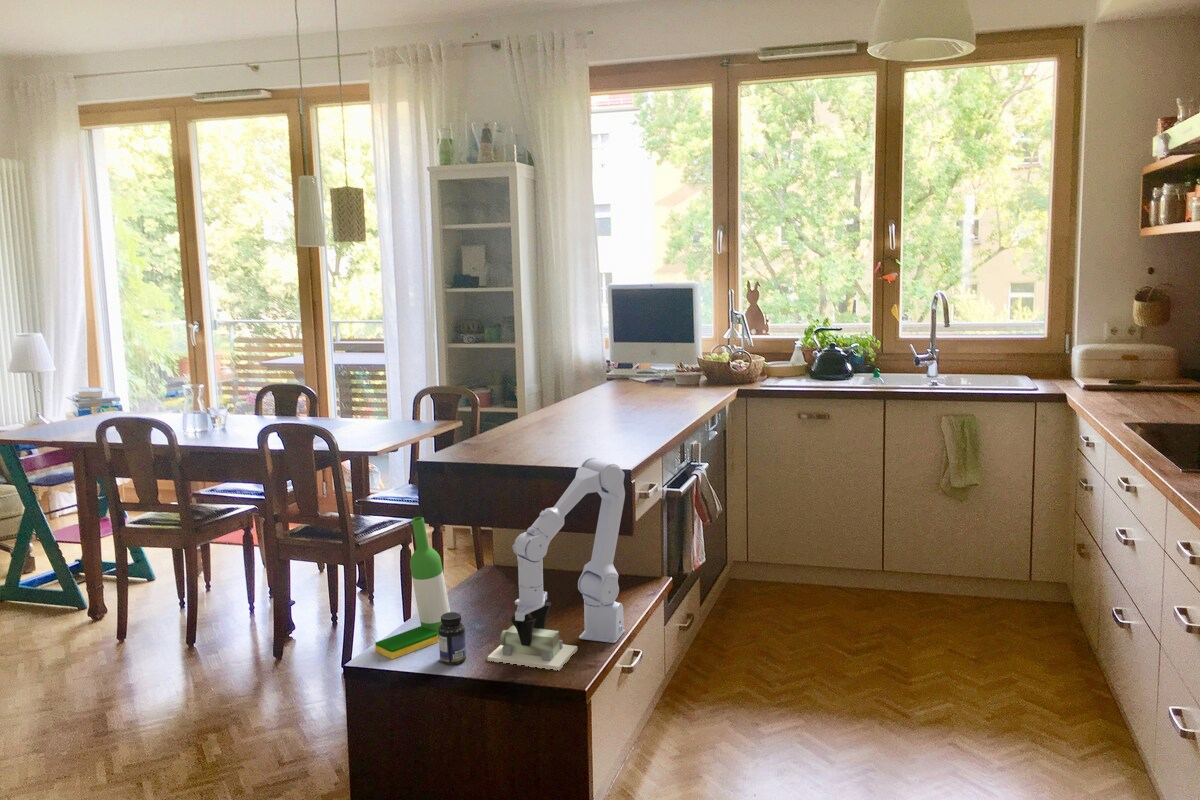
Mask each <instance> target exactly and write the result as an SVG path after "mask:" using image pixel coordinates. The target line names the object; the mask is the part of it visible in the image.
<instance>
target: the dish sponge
mask: <svg viewBox="0 0 1200 800" xmlns="http://www.w3.org/2000/svg"><path fill="white" fill-rule="evenodd" d="M436 643H439V634H438V633H437V632H435V631H432V630H430V629H427V628H424V627H422V626H421V625H420V626H417V627H414V628H412V629H409V630H406V631H404V632H401V633H398V634H395V635H393V636H390V637H388V638H384V639H381V640H378V641H376V642H374V644H375V653H377V654H380V655H382V656H385V657H387V658H388V659H390V660H394V659H396V658H399V657H402V656H405V655H407V654H410V653H412V652H415V651H418V650H421V649H423V648H426V647H428V646H431V645H434V644H436Z"/></svg>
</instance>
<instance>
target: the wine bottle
mask: <svg viewBox="0 0 1200 800" xmlns="http://www.w3.org/2000/svg"><path fill="white" fill-rule="evenodd" d="M411 524H412V529H413V535H414V541H415V546H416V550H415V551H414V552H413V553H412V555H411V557H410V560H409V567H410V573H411V580H412V584H413V590H414V595H415V596H414V597H415V601H416V607H417V611H418V617H419V618H418V619H419V622H420V626H422V627H424V628H427V629H430V630H432V631H435V632H437V633H438V635H439V631H438V629H439V627H440V625H442V622H441V615H443V614H445V613H448V612H451V609H450V604H449V603H450V602H449V597H448V592H447V586H446V581H445V576H444V570H443V564H442V559H441V556H440V554H439V553H438V551H437V550H435V549H434V548H433V547H430V545H429V540H428V536H427V529H426V524H425V518H424V517H423V516H416V517H413V518H412V519H411Z"/></svg>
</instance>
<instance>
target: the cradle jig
mask: <svg viewBox="0 0 1200 800" xmlns="http://www.w3.org/2000/svg"><path fill="white" fill-rule="evenodd" d="M563 641H564V640H563V639H559V652H558V653H557V654H556V656H555V657H554V658H552V652H551V651H543V652H542V656H534V655H527V654H519V653H512V646H505V645H504V646H502V645H501V644H500V645H499V646H498V647H496V649H494V650H493V651H492V652H491V653H490V654H489V655H488V656H487V658H486V659H487V662H491V661H492V662H493V661H494V662H493V663H499V662H503V663H502V664H506V663H510V664H509V665H513V664H517V665H516V666H521V665H525V666H524V667H528V666H529V668H535V667H537V668H538V669H542V668H545V669H544V670H550V669H553V670H552V671H557V670H558V672H559V671H561V669H562V668H563V667H564V666H565V665H566V664H567V662H569V660H570V659H571V658H572V657H573V656H572V655H573V654H574V655H575V653H577V651H578V646H577V645H571V644H565V643H563ZM571 656H572V657H571ZM570 657H571V658H570ZM492 662H491V663H492ZM565 663H566V664H565ZM564 664H565V665H564ZM563 665H564V666H563Z"/></svg>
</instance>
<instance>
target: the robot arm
mask: <svg viewBox="0 0 1200 800" xmlns="http://www.w3.org/2000/svg"><path fill="white" fill-rule="evenodd" d="M624 480H625V472H624V471H623V470H622V468H621V467H620V466H619V465H618V464H616V463H610V462H606V461H602V460H601V459H598V458H595V457H589V458H586V459H585V460H584V461H583V462H582V464H581V465H580V466H579V467H578V468H577V469H576V472H575V477H574V479H573V480H572V481H571V483H570V484H569V485H568V487H567V488H566V490H565V491H564V492H563V494H562V495H561V496H560V498H559V499H558V501H557V502H556V503H555V504H554V506H553V507H547V508H545V509H544V510H541V512H539V516H538V517H537V518H536V519H535V521H534V522H533V523H532V525H530V527H529V526H528V528H527V529H526V531H525V532H523V533H520V534H519V535H518V536H517V537H516V538H515V540H514V543H513V545H512V546H511V547H512V550H513V553H514V554H515V555H516V558H517V570H518V571H517V572H518V576H517V577H518V597H519V598H517V599H516V600H514V604H515V605H517V608H516V610H515V612H514V614H513V615H512V617H511V623H512V624H513V626H515V627H516V629H517V632H518V635H519V638H520V641H521V645H523V646H530V645H531V642H532V632H533V628H537V629H545V626H546V621H547V618H548V615H549V612H550V611H551V607H552V602H551V601H547V600H548V591H544V573H543V572H544V570H543V569H544V567H543V558H544V557H546V555H547V553H548V549H549V546H550V544H551V541H552V539H553V538H555V536H556V535H557V534H558V532H559V531H560V530H561V529H562V528H563V527H564V525H565V517H566V515H567V514H568V513H569V512H571V510H572V509H574V508H575V506H577V504H578V503H579V502H580V501H581V500H582V499H583V498H584V497H585V496H586V495H588V494H592V493H598V495H599V496H600V498H601V502H600V507H599V513H598V517H597V518H598V519H597V525H596V529H595V536H594V541H593V547H592V553H591V558H590V561H588V562H587V563H585V564H584V566H583V570H582V573H581V575H580V576H579V578H578V580H577V589H578V591H579V592H580V593H581V594H582V599H583V608H584V609H583V610H584V612H583V613H584V614H583V618H584V619H583V621H584V623H583V624H584V631H583V632H582V633H580V635H579V636H578V639H579V640H587V641H593V642H594V641H595V642H603V643H610V644H614V643H616V642H618V640H619V639H620V638H621V636H622V635H623V634H624V633H625V629H624V627H625V626H624V622H625V621H624V618H625V617H624V613H625V612H624V606H623V603H621V602H618V601H616V600H617V598H618V596H619V593H620V586H619V582H618V581H619V574H618V572H617V569H616V568H615V566H614V562H615V561H614V560H615V555H616V549H617V543H618V539H619V532H620V525H621V521H622V520H621V519H622V515H623V510H624V504H625V499H626V498H625V497H626V490H625V485H624ZM529 614H530V616H529Z"/></svg>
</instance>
